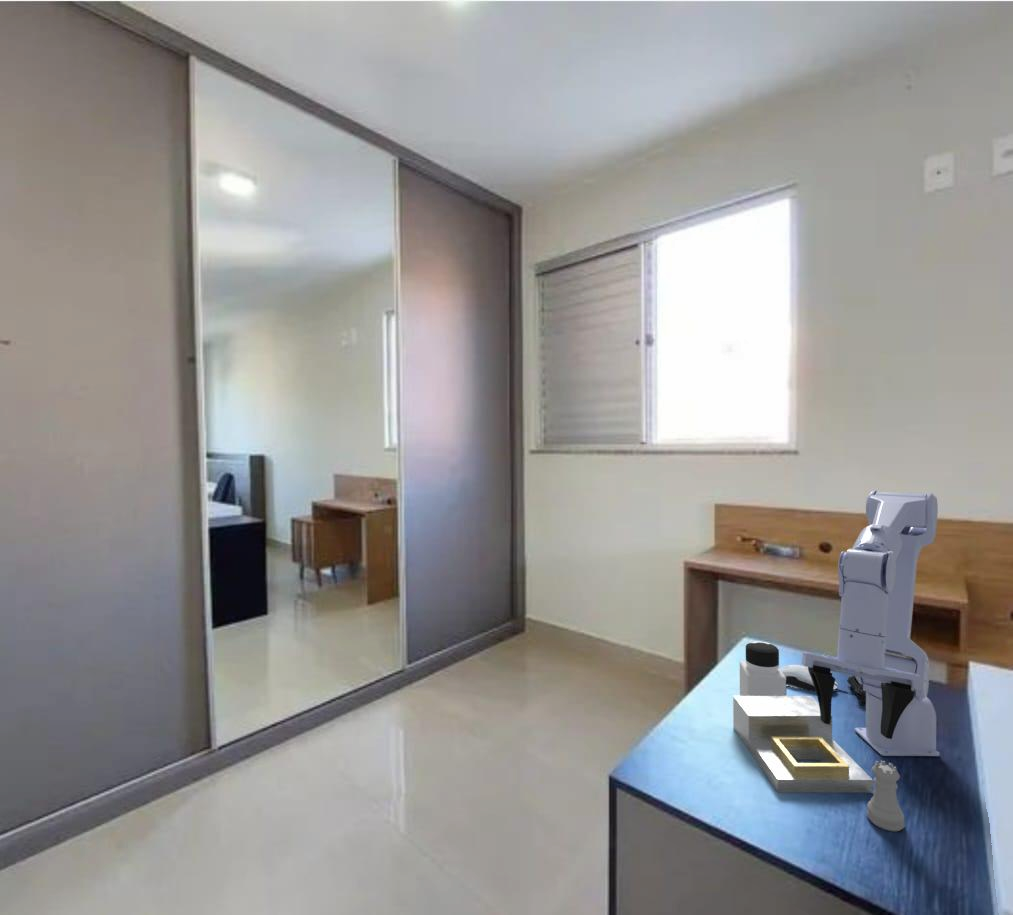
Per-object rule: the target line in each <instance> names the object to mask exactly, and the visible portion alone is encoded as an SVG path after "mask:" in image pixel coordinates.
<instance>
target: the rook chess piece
mask: <svg viewBox="0 0 1013 915" xmlns="http://www.w3.org/2000/svg"><path fill="white" fill-rule="evenodd" d="M897 768H898V767H896V766H894V764H893V763H891V762H888V763H887V764H886V761H885V760H880V761H878V760H876V761H874V765H873V766H872V767H871V772H872V773H873V775H874V776H875V777H874V778H873V779H872V780H873V784H874V789H873V796H872V797H871V798H870V800H869V801H868V803H867V804H866V805H867V806H866V811H865V813H866V816H867V818H868V820H870V822H871V823H872V824H873V825H874V826H877V827H878V828H880V829H882V830H884V831H888V832H892V833H893V832H900V831H901V830H903V829H905V827H906V822H905V814H904V813H903V811H902V809H901V806H900V804H899V803H898V796H897V790H898V788H899V786H898V784H897V781H899V780H900V778H901V776H900V774H899V772H898V769H897Z"/></svg>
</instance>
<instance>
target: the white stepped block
mask: <svg viewBox="0 0 1013 915" xmlns="http://www.w3.org/2000/svg"><path fill="white" fill-rule="evenodd" d="M732 698H733V703H732V704H733V705H732V706H733V708H732V710H733V712H732V713H733V714H732V716H733V718H732V719H733V720H732V721H733V729H734V731H735V732H736V734H737V733H738V734H737V735H738V737H739V738H740V739H741V741H742V742H743V744H744V745H745V747H746V749H748V751H749V753H750V754H751V756H752V757H753V758H754V760H755V762H756V763H757V764H758V767H759V766H760V769H761V771H763V773H764V774H765V776H766V778H767V780H768V781H770V783H771V785H772V786H773V788H774V789H775V791H776V792H777V793H805V794H807V793H809V794H810V793H813V794H814V793H818V794H819V793H820V794H821V793H824V794H826V793H827V794H830V793H831V794H832V793H833V794H834V793H835V794H837V793H838V794H842V793H843V794H847V793H848V794H874V781H873V779H872V777H871V776H869V774H868V773H866V772H865V770H864V769H863V768H861V767H860V766H859V764H858V763H857V762H856V761H855V760H854V759H853V758H852V757H851V756H850V755H849V754H848V753H847V752H846V751H845V750H844V749H843V748H842V747H841V746H840V745H839V744H838V743H837V742H836V741H835V740H834V739H833V715H832V714H831V721H830V725H829V724H825V723H823V722H822V721H821V716H820V707H819V702H818V700H816V699H815V698H814V697H813V696H812V695H786V696H741V695H733V696H732ZM799 760H800V761H801V760H802V761H803V760H804V761H806V760H809V761H810V760H811V761H817V760H818V761H819V762H797V761H799Z"/></svg>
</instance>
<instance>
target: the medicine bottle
mask: <svg viewBox="0 0 1013 915" xmlns="http://www.w3.org/2000/svg"><path fill="white" fill-rule="evenodd" d="M739 694H740V695H739V696H787V686H786V677H785V676H784V674H783V673H782V671H781V670H780V650H779V649H778V647H777V645H774V644H772V643H769V642H766V641H761V640H760V641H759V640H758V641H757V640H755V641H750V642H748V643H746V645H745V660H740V661H739Z"/></svg>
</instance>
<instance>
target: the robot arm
mask: <svg viewBox="0 0 1013 915" xmlns="http://www.w3.org/2000/svg"><path fill="white" fill-rule="evenodd" d="M938 509H939V508H938V498H937V497H936V496H935V494H933V493H931V492H930V493H929V492H928V493H912V492H893V491H892V492H891V491H877V490H872V491H870V493H869V494H868V495H867V497H866V504H865V514H866V520H867V522H868V525H867V526H865V527H864V528H863V529H862V530H861V531H860V533H859V535H858V537H857V538H856V540H855V542H854V544H853V546H852V548H848V549H847V550H846V551H841V553H840V555H839V558H838V564H837V576H838V596H839V597H841V600H840V601H841V602H840V615H839V628H838V638H837V639H838V640H837V652H836V656H832V655H828V654H822V653H816V652H809V651H804V650H803V651H802V657H801V658H802V659H801V665H802V666H805V667H808V671H809V674H810V676H811V679H812V681H813V684H814V687H815V690H816V692H815V693H816V696H817V702H818V703H819V707H820V716H821V721H822V722H823V723H825V724H829V725H830V721H831V715H832V700H833V694H834V693H833V692H834V691H833V688H834V684H835V681H836V678H835V677H834V676H833V673H838V674H844V675H848V676H855V677H856V679H857V681H858V682H859V683H860V684H863V690H864V691H866V703H865V727H855V728H854V731H855V732H856V733H857V734H858V736H860V737H861V738H862V739H863V740H864V741H866V743H868V744H869V745H870V746H871V747H872V749H874V750H875V751H876V752H877V753H878V754H880V756H883V757H939V756H940V752H939V751H937V713H936V710H935V707H934V704H933V703H932V702H931V699H929V697H927V695H928V693H929V687H930V686H929V685H930V684H929V682H930V668H929V663H930V661H929V660H930V659H929V656H928V655H927V653H926V651H925V650H923V648H921V647H920V646H919V645H918V644H917V643H915V641H913V640H912V639H911V633H912V621H913V612H914V611H913V610H914V598H915V590H916V589H915V588H916V578H917V568H918V567H917V566H918V560H919V556H920V553H921V551H922V548H923V547H925V546H928V545H931V544H934V539H935V538H936V533H937V522H938V514H939V512H938ZM902 656H903V657H902Z"/></svg>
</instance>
